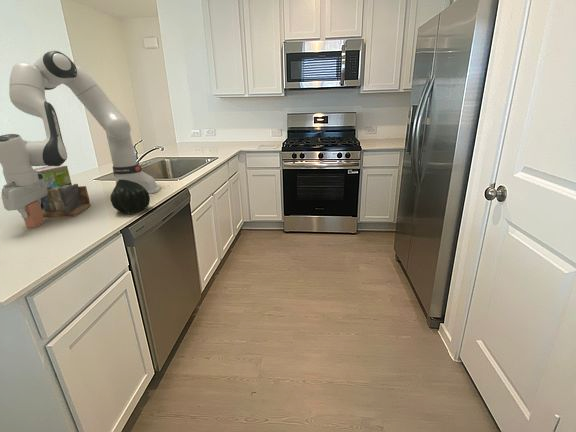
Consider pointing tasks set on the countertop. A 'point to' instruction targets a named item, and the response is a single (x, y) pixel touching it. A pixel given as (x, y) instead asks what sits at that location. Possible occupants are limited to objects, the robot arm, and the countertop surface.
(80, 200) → the rack
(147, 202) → the squash
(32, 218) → the terracotta rectangular block
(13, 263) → the countertop surface
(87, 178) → the countertop surface
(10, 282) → the countertop surface
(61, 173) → the tea box
